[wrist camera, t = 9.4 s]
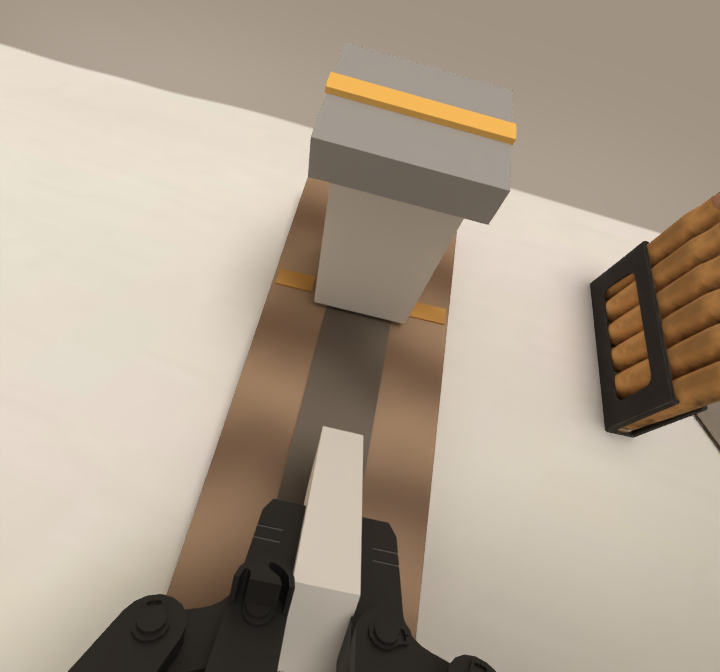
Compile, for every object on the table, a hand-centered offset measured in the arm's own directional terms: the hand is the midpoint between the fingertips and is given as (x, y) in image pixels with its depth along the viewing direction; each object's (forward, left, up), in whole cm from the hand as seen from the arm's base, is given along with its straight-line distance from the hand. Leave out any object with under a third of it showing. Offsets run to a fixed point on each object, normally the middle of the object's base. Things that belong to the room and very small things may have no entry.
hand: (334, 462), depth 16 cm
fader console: (+4, -5, -6) cm, 9 cm away
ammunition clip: (-5, -20, -7) cm, 21 cm away
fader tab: (+7, -8, -4) cm, 11 cm away
